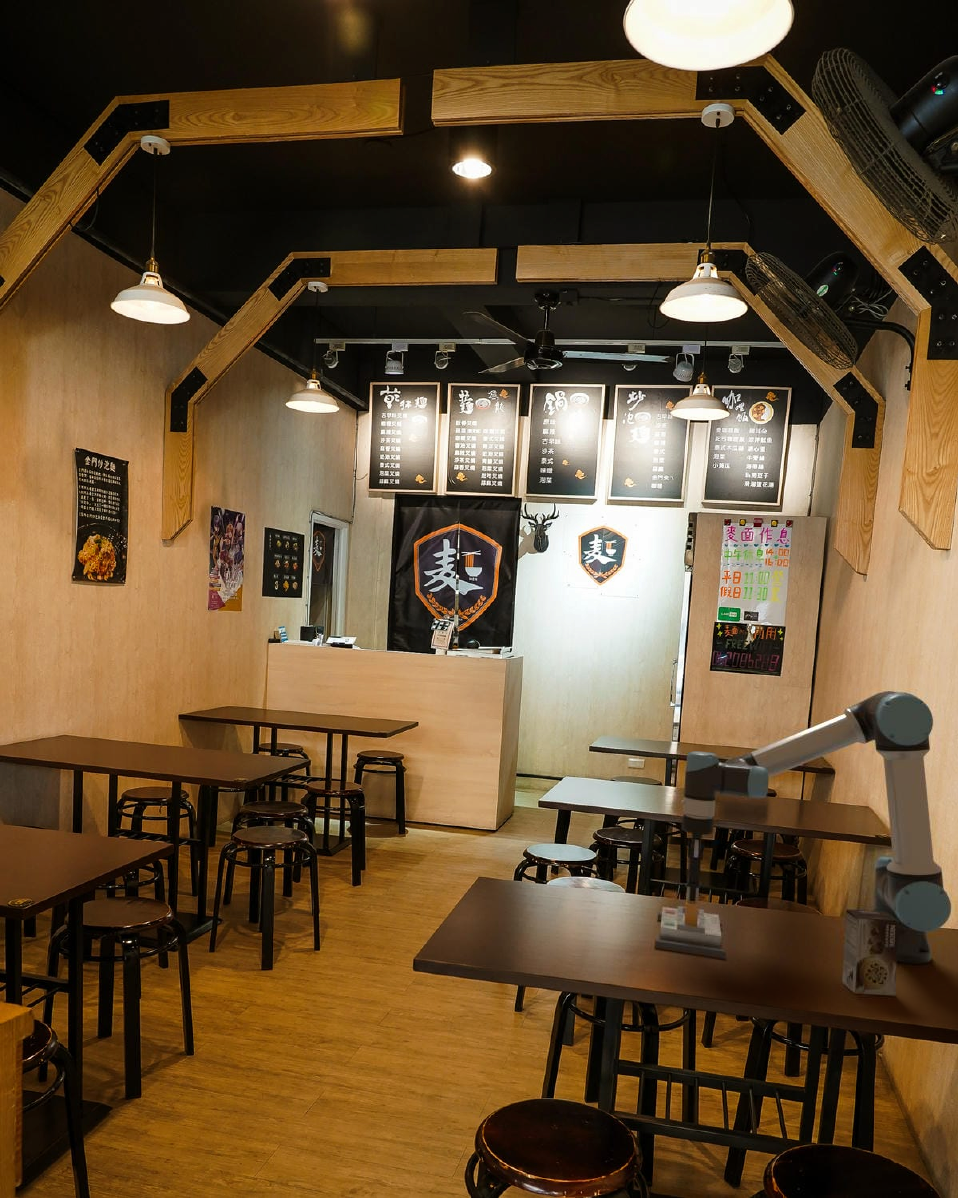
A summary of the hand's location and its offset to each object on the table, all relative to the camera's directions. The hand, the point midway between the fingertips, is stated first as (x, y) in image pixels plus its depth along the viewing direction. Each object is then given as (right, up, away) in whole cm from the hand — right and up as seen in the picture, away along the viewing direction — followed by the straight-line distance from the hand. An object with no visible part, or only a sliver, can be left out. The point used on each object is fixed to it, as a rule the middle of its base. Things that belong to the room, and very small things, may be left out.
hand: (691, 913), depth 218 cm
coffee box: (+33, -8, -24) cm, 41 cm away
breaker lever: (-1, -2, -2) cm, 3 cm away
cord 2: (-3, -6, -9) cm, 11 cm away
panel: (0, -7, +2) cm, 7 cm away
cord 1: (+2, -7, +12) cm, 15 cm away
